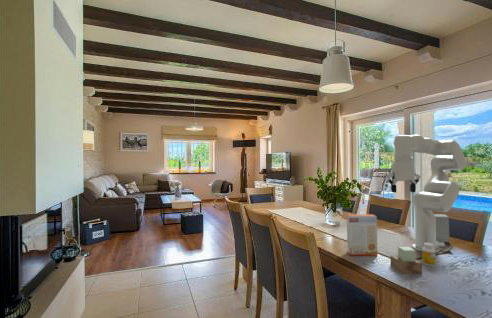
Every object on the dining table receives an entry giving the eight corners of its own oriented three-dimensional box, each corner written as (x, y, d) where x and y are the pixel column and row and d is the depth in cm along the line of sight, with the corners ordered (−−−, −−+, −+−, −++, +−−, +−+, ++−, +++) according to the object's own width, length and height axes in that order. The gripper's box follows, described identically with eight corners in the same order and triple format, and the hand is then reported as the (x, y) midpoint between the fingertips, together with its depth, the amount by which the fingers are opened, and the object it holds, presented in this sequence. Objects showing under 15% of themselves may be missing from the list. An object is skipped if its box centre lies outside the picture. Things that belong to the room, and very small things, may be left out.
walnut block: (409, 265, 126) (409, 255, 126) (422, 274, 117) (421, 262, 117) (390, 265, 126) (390, 255, 126) (401, 274, 117) (401, 263, 117)
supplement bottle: (419, 262, 130) (419, 242, 130) (429, 261, 130) (429, 241, 130) (427, 266, 124) (427, 245, 124) (438, 266, 125) (438, 245, 125)
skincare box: (445, 239, 163) (445, 214, 163) (450, 243, 156) (449, 216, 156) (429, 238, 166) (429, 213, 166) (433, 241, 159) (433, 215, 159)
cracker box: (373, 252, 143) (373, 213, 143) (377, 256, 137) (377, 216, 137) (346, 251, 145) (346, 213, 145) (350, 255, 139) (349, 216, 139)
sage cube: (409, 257, 124) (409, 246, 124) (415, 261, 119) (415, 250, 119) (398, 257, 124) (398, 246, 124) (404, 261, 119) (404, 250, 119)
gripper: (415, 158, 141) (415, 191, 141) (382, 159, 141) (382, 191, 141) (424, 158, 133) (424, 192, 133) (390, 159, 133) (390, 193, 133)
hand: (403, 192), depth 137 cm, fingers open, 9 cm apart
